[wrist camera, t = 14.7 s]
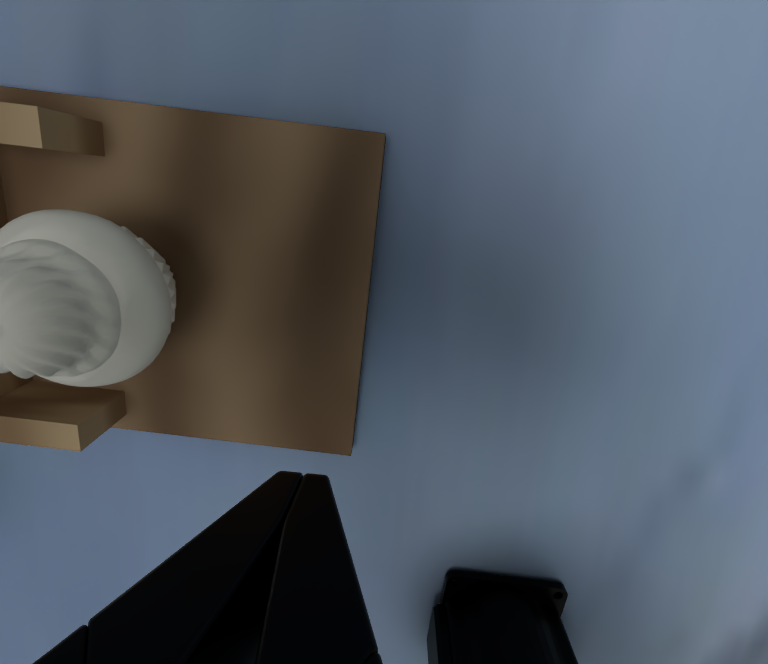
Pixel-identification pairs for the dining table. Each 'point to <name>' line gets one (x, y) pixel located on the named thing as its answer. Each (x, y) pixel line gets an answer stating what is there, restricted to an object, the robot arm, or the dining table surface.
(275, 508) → the robot arm
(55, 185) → the channel bracket
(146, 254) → the muffin
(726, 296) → the dining table surface
